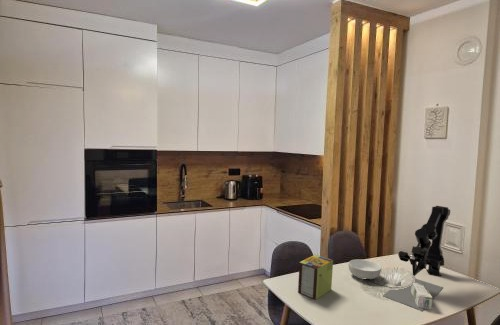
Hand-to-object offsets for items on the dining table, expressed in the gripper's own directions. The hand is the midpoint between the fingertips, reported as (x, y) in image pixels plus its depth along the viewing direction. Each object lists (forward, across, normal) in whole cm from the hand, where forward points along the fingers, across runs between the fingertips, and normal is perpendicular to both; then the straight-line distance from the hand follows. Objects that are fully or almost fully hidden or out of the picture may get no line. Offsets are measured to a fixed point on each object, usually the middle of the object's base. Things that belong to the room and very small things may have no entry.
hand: (413, 275), depth 161 cm
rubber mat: (+5, 0, +9) cm, 10 cm away
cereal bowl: (+7, -25, +7) cm, 27 cm away
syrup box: (+4, +2, +6) cm, 7 cm away
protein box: (+32, -35, -18) cm, 50 cm away
